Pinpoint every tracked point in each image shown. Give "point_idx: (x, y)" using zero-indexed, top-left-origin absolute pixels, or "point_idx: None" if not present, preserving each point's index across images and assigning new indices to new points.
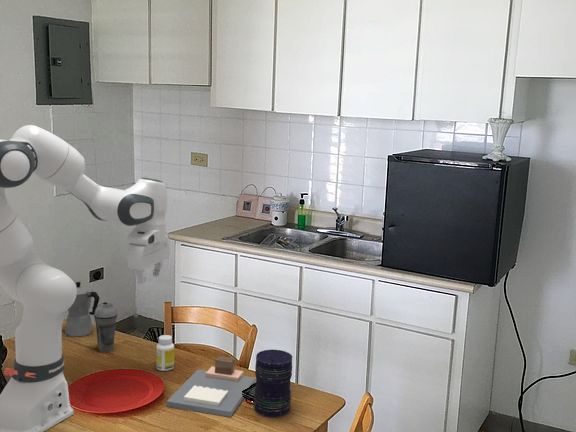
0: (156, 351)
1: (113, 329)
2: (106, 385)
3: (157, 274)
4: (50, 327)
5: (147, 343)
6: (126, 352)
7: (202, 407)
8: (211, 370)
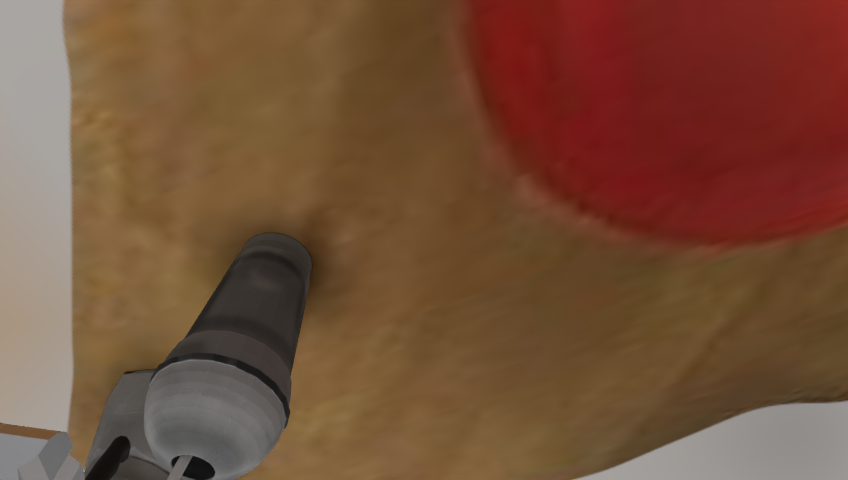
0: None
1: (243, 303)
2: (716, 91)
3: (39, 464)
4: None
5: (100, 105)
6: (269, 160)
7: None
8: None
